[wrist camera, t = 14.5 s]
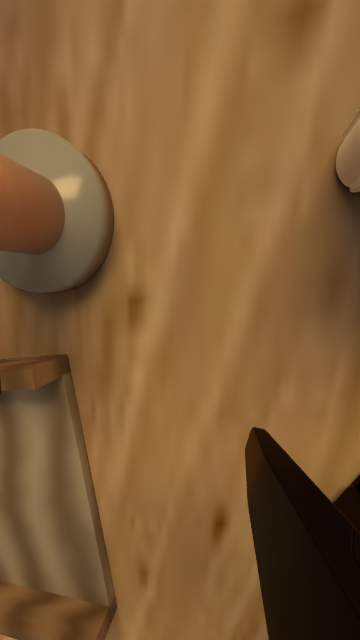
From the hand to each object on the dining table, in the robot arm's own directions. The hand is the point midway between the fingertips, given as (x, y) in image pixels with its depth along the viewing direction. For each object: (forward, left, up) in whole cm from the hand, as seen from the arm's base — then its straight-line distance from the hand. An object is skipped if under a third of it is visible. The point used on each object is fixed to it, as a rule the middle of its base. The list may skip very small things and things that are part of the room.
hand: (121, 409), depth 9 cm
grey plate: (+15, -3, -12) cm, 19 cm away
